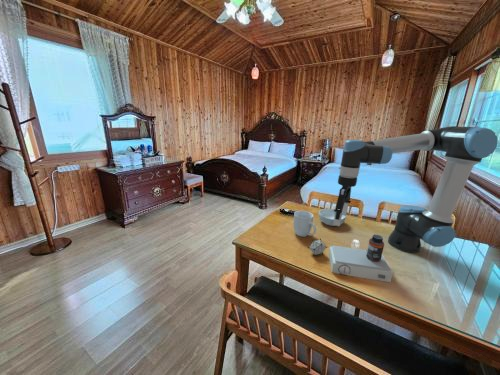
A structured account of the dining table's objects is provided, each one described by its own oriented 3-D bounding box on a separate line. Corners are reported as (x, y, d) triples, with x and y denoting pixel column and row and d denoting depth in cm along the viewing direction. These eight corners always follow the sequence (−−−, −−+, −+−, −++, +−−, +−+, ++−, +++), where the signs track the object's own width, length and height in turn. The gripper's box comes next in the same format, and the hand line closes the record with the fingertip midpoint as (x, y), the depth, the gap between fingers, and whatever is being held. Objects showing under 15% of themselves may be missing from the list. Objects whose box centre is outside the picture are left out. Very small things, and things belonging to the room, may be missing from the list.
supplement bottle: (375, 254, 103) (380, 233, 100) (383, 262, 97) (389, 240, 94) (363, 254, 103) (367, 233, 99) (370, 262, 97) (375, 240, 94)
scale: (380, 262, 107) (382, 251, 105) (391, 283, 93) (394, 271, 91) (328, 254, 112) (330, 244, 110) (331, 273, 98) (333, 262, 97)
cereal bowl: (314, 217, 154) (316, 208, 152) (338, 217, 154) (339, 208, 152) (322, 229, 138) (323, 218, 136) (348, 229, 138) (350, 219, 136)
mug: (320, 238, 127) (323, 217, 123) (307, 244, 121) (310, 222, 117) (300, 228, 139) (302, 209, 135) (288, 232, 133) (290, 213, 129)
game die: (319, 262, 112) (328, 255, 104) (303, 254, 113) (312, 247, 105) (322, 246, 118) (331, 239, 110) (307, 240, 118) (315, 232, 110)
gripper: (345, 169, 107) (338, 209, 114) (331, 180, 87) (324, 227, 94) (361, 172, 103) (353, 213, 110) (352, 183, 83) (342, 233, 90)
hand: (339, 220), depth 102 cm, fingers open, 13 cm apart
